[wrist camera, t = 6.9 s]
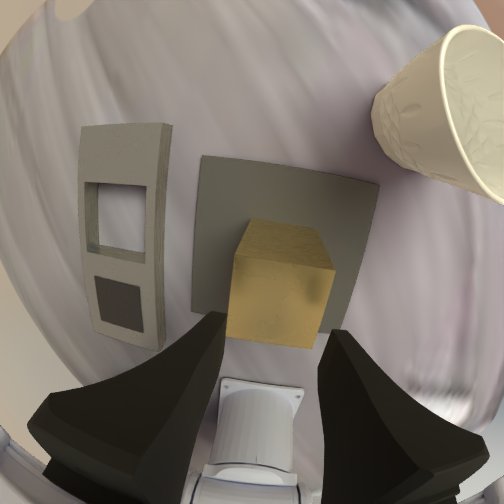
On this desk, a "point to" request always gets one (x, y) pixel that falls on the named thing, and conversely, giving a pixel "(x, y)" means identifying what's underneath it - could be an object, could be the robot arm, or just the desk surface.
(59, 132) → the desk surface
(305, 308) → the brass rectangular block
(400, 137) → the white cup
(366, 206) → the mat
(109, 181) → the grey plate with hole
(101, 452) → the robot arm
